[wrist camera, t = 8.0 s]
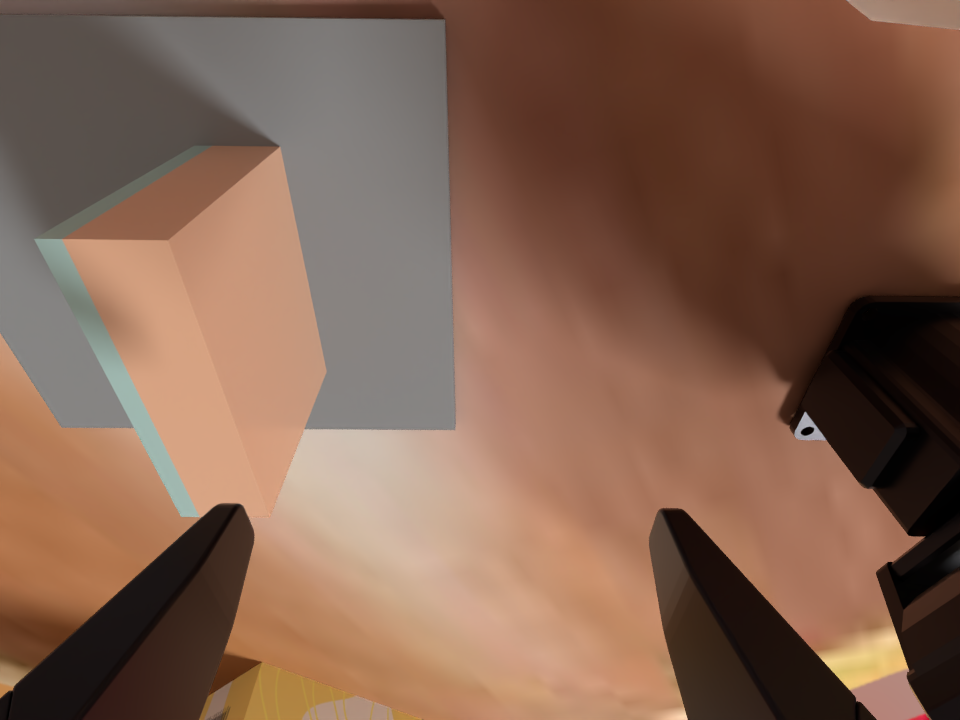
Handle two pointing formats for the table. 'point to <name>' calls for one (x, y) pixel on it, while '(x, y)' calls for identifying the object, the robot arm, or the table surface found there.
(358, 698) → the pasta box
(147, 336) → the tile
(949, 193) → the table surface
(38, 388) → the mat
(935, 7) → the foam cup
